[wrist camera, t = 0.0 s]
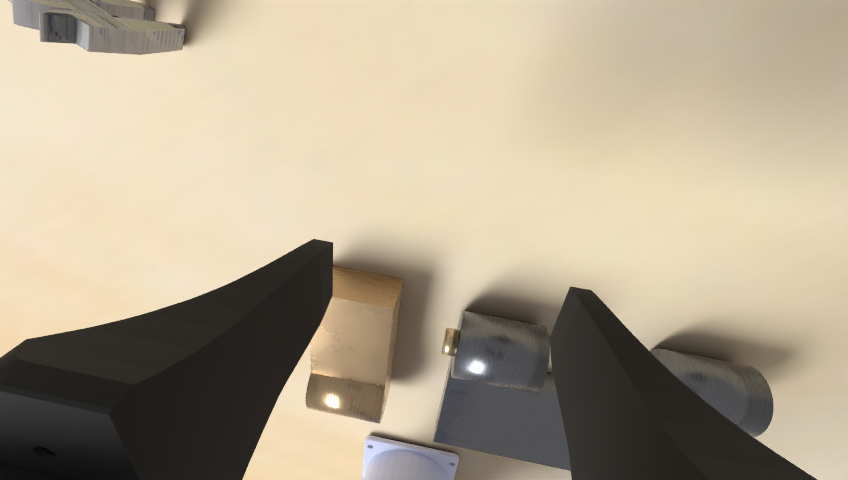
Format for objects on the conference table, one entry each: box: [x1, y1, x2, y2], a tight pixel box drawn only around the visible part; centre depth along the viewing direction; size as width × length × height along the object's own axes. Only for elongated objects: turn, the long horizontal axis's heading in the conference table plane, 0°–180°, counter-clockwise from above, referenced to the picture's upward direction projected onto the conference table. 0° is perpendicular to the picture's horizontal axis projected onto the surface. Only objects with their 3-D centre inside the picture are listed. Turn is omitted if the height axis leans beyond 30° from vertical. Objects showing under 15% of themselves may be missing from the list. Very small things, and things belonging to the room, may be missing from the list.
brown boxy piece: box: [306, 266, 403, 423], centre depth 26 cm, size 10×5×4 cm, turn 173°
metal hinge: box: [434, 311, 773, 471], centre depth 26 cm, size 13×19×4 cm
